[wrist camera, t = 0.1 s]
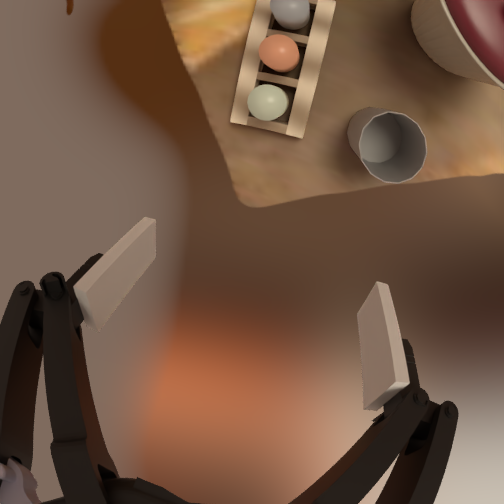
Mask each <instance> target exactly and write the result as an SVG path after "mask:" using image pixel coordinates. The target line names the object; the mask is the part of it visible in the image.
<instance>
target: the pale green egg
mask: <svg viewBox="0 0 504 504" xmlns="http://www.w3.org/2000/svg"><path fill="white" fill-rule="evenodd" d="M247 104H248V108H249V110H250V112H251V113H252V115H253V116H255V117H256V118H258V119H260V120H264V121H270V120H274V119H276V118H278V117H279V116H281V115H282V114H284V113H285V112H286V110H287V109H288V106H289V98H288V95H287V94H286V92H285V91H284V90H283V89H281V88H279V87H276V86H273V85H260V86H258V87H256V88H254V89H253V90H252V91H251V92H250V94H249V96H248V101H247Z"/></svg>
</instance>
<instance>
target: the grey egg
mask: <svg viewBox="0 0 504 504" xmlns="http://www.w3.org/2000/svg"><path fill="white" fill-rule="evenodd" d="M270 8H271V11H272V13H273V15H274V17H275V19H276V21H277V22H278V24H279V25H281V26H282V27H284V28H286V29H291V30H296V29H300V28H302V27H304V26H305V25H306V24H307V23H308V22H309V18H310V12H309V1H308V0H271V1H270Z"/></svg>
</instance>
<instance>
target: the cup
mask: <svg viewBox="0 0 504 504" xmlns="http://www.w3.org/2000/svg"><path fill="white" fill-rule="evenodd" d="M347 135H348V140H349V145H350V146H351V148H352V149H353V150H354V152H355V153H356V155H357V156H358V157H359V159H360V160H361V161H362V163H363V164H364V165H365V167H366V168H367V170H368V171H369V173H370V174H371V175H373V176H375V177H376V178H378V179H380V180H381V181H383V182H387V183H397V184H399V183H402V182H404V181H407V180H410V179H412V178H413V177H414V176H415V175H416V174H417V173H418V172H419V171H420V170H421V169H422V168H423V165H424V162H425V159H426V156H427V146H426V137H425V135H424V134H423V132H422V130H421V128H420V127H419V125H418V123H416V122H415V121H414V120H412V119H411V118H409V117H408V116H407V115H405V114H403V113H399V112H395V111H391V110H386V109H382V108H374V107H368V108H365V109H363V110H360V111H358V112H357V113H356V114H355V115H354V116H353V117H352V119H351V120H350V122H349V126H348V130H347Z"/></svg>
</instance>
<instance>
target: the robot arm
mask: <svg viewBox="0 0 504 504" xmlns="http://www.w3.org/2000/svg"><path fill="white" fill-rule="evenodd" d="M155 258H156V220H155V219H152V218H148V217H144V218H143V219H142V220H141V221H139V222H138V223H137V224H136V225H135V226H134V227H133V228H132V229H131V230H130V231H128V232H127V233H126V234H125V235H124V236H123V237H122V238H121V239H120V240H119V241H118V242H117V243H116V244H115V245H114V246H113V247H112V248H110V249H109V250H108V251H107V253H105V254H104V255H103V254H100V253H98V254H96V255H94V256H92V257H90V258H89V259H88V260H87V261H86V262H85V264H84V265H82V266H81V267H80V269H78V270H77V271H76V272H75V273H74V274H73V275H72V276H71V278H69V279H68V280H67V282H65V279H64V276H63V275H62V274H61V273H59V272H51V273H48V274H46V275H45V276H43V277H42V279H41V280H40V283H39V284H40V286H41V289H42V290H36V289H35V286H34V284H33V283H32V282H31V281H23V282H21V283H19V284H18V285H17V286H16V287H15V289H14V291H13V293H12V295H11V298H10V300H9V302H8V305H7V308H6V310H5V313H4V315H3V319H2V321H1V324H0V503H1V504H199V503H189V502H187V501H185V500H183V499H181V498H179V497H178V496H176V495H174V494H173V493H171V492H169V491H168V490H166V489H164V488H163V487H160V486H158V485H155V484H152V483H150V482H147V481H145V480H143V479H140V478H138V477H137V479H133V478H120V477H119V475H118V472H117V469H116V467H115V465H114V462H113V460H112V459H111V457H110V455H109V453H108V451H107V448H106V445H105V442H104V438H103V435H102V432H101V428H100V425H99V421H98V417H97V413H96V409H95V405H94V401H93V397H92V392H91V387H90V382H89V377H88V372H87V365H86V359H85V352H84V345H83V337H82V329H81V325H80V324H81V323H82V322H83V320H84V321H85V323H86V326H87V327H88V328H90V329H92V330H94V331H96V332H99V331H100V330H101V329H102V327H103V326H104V324H105V323H106V322H107V320H108V319H109V317H110V316H111V315H112V314H113V312H114V311H115V309H116V308H117V307H118V305H119V304H120V303H121V301H122V300H123V299H124V297H125V296H126V295H127V293H128V292H129V291H130V289H131V288H132V287H133V286H134V284H135V283H136V282H137V280H138V279H139V278H140V277H141V275H142V274H143V273H144V272H145V270H146V269H147V268H148V267H149V265H150V264H151V263H152V261H153V260H154V259H155ZM357 318H358V328H359V337H360V349H361V362H362V380H363V409H364V410H374V411H377V410H378V409H379V408H381V407H382V406H384V412H383V413H382V414H380V415H379V416H378V417H376V418H375V419H374V420H373V422H374V421H375V422H374V423H373V424H372V425H371V426H370V428H369V429H368V430H367V431H366V432H365V433H364V434H363V436H362V437H361V438H360V439H359V440H358V441H357V442H356V443H355V444H354V445H353V446H352V448H351V449H350V450H349V451H348V452H347V453H346V454H345V455H344V456H343V457H342V458H341V459H340V460H339V461H338V462H337V463H336V464H335V465H334V466H332V467H331V468H330V469H329V470H328V471H327V472H326V473H325V474H324V475H323V476H322V477H321V478H319V479H318V480H317V481H316V482H315V483H314V484H313V485H311V486H310V487H309V488H308V489H307V490H305V492H303V493H302V494H301V495H299V496H298V497H297V498H296V499H294V500H293V501H292V502H290V503H289V504H358V503H359V502H360V501H361V500H362V499H363V498H364V497H365V495H366V494H367V493H368V492H369V491H370V490H371V489H372V487H373V486H374V485H375V484H376V483H377V482H378V480H379V479H380V478H381V477H382V476H383V474H384V473H385V471H386V470H387V469H388V468H389V467H390V465H391V464H392V462H393V461H394V460H395V458H396V457H397V456H398V454H399V453H400V454H399V456H398V458H397V461H396V463H395V465H394V467H393V470H392V472H391V474H390V476H389V478H388V480H387V482H386V484H385V486H384V488H383V490H382V492H381V494H380V496H379V498H378V500H377V501H376V503H375V504H433V503H434V501H435V498H436V495H437V493H438V490H439V487H440V485H441V482H442V479H443V475H444V473H445V469H446V466H447V462H448V459H449V456H450V451H451V448H452V444H453V440H454V435H455V431H456V425H457V420H458V409H457V407H456V405H455V404H454V403H453V402H451V401H445V402H444V403H442V404H441V405H439V404H437V403H434V402H432V401H430V400H429V396H428V394H427V393H426V391H425V390H423V389H422V388H420V384H419V379H418V374H417V369H416V364H415V359H414V354H413V349H412V347H411V345H410V343H409V342H408V340H407V339H401V335H400V330H399V326H398V322H397V318H396V313H395V309H394V306H393V302H392V298H391V294H390V291H389V287H388V284H384V283H381V282H376V284H375V285H374V287H373V289H372V290H371V292H370V294H369V296H368V297H367V299H366V301H365V302H364V304H363V305H362V307H361V309H360V310H359V312H358V314H357ZM42 356H44V373H45V385H46V394H47V402H48V410H49V416H50V422H51V427H52V433H53V438H54V439H53V442H52V443H51V446H50V449H51V455H52V458H53V462H54V466H55V470H56V473H57V477H58V480H59V483H60V486H61V489H62V492H63V495H64V497H61V498H57V499H54V500H51V501H47V502H43V503H42V502H41V501H40V500H39V499H38V497H37V494H36V488H37V486H38V485H37V481H36V480H35V478H34V477H33V475H32V473H31V472H30V471H31V466H32V465H31V464H32V458H33V431H34V430H33V429H34V413H35V404H36V395H37V386H38V379H39V373H40V367H41V361H42Z"/></svg>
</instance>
